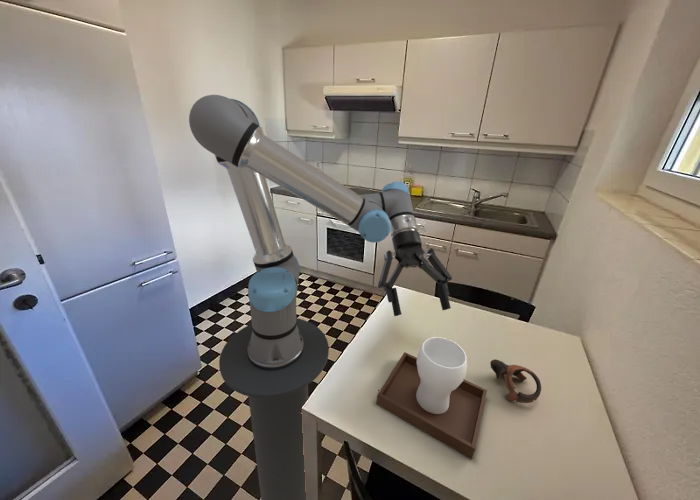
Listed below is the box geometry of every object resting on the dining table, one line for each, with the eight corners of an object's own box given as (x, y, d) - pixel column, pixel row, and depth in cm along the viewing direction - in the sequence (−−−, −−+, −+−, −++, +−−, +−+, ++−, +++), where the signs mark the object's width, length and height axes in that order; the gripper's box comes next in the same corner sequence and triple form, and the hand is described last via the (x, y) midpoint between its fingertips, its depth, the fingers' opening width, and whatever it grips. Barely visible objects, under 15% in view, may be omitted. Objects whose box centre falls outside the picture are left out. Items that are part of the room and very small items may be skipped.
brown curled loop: (535, 385, 74) (551, 378, 67) (520, 416, 70) (536, 412, 64) (491, 355, 79) (502, 346, 73) (475, 382, 75) (486, 375, 69)
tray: (376, 403, 66) (377, 394, 65) (403, 360, 79) (404, 351, 78) (471, 459, 56) (475, 449, 55) (484, 398, 69) (487, 389, 68)
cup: (458, 392, 69) (472, 345, 64) (451, 429, 61) (466, 378, 55) (416, 375, 74) (425, 329, 68) (404, 406, 65) (413, 357, 59)
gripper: (365, 230, 70) (381, 315, 63) (451, 227, 76) (474, 304, 69) (358, 241, 77) (371, 320, 69) (437, 238, 83) (457, 309, 76)
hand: (422, 312), depth 69 cm, fingers open, 13 cm apart
